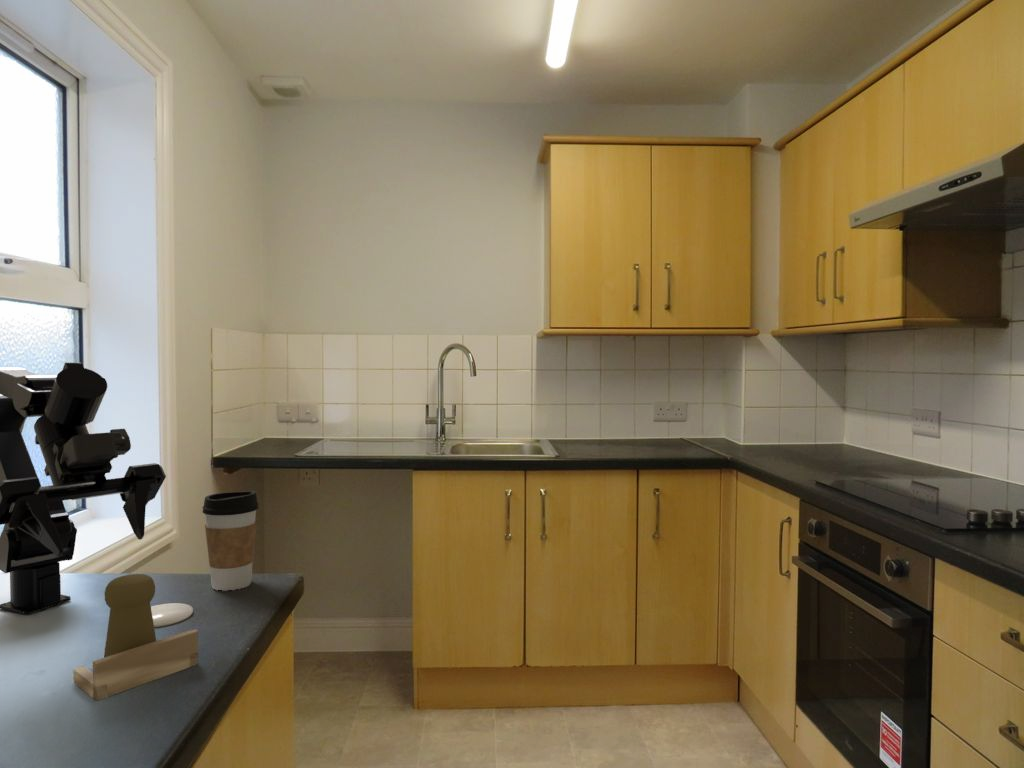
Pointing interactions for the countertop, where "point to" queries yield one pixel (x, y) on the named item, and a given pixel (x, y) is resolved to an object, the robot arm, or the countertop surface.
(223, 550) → the coffee cup
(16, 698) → the countertop surface
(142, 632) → the cork
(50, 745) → the countertop surface
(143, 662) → the holder
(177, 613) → the saucer
